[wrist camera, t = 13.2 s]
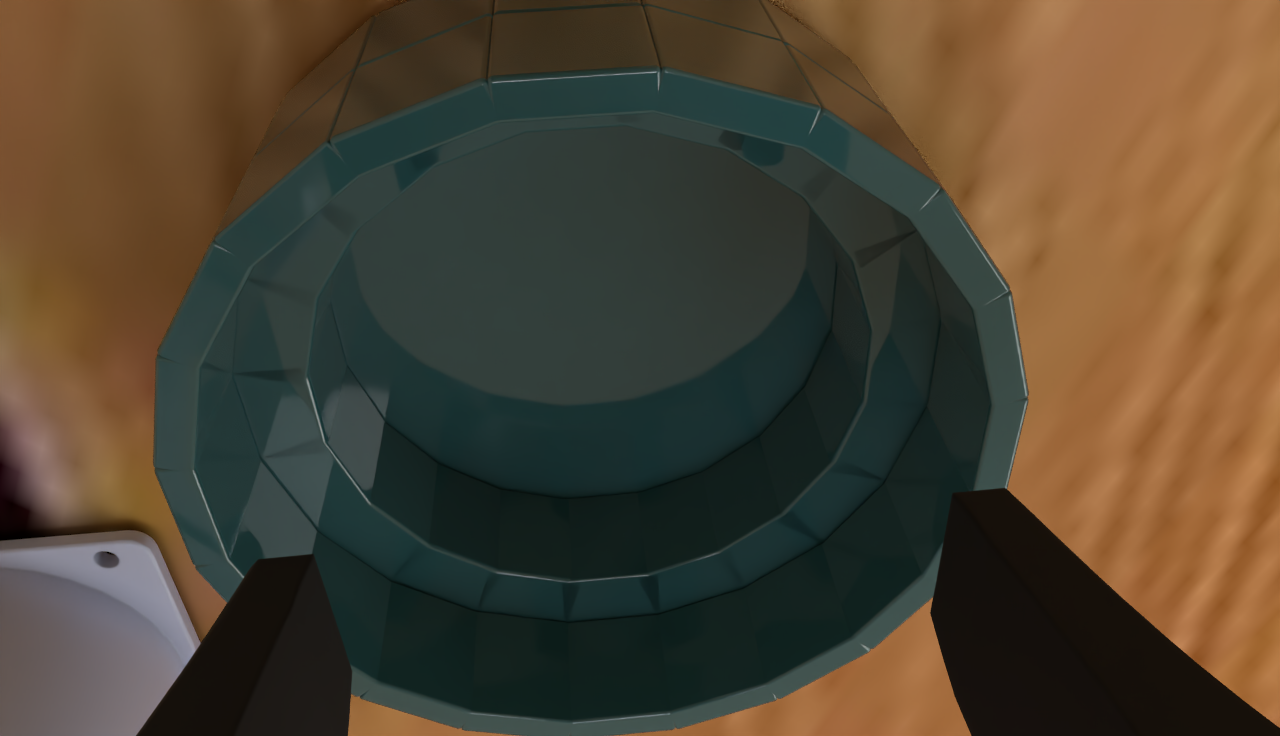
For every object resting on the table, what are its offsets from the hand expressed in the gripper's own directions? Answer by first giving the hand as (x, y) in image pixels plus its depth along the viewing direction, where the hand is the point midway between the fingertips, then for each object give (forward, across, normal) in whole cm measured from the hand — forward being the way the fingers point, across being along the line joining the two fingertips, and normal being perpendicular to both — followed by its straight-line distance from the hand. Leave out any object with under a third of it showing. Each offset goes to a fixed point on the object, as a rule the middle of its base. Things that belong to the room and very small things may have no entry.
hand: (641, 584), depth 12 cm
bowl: (+9, 0, +2) cm, 9 cm away
